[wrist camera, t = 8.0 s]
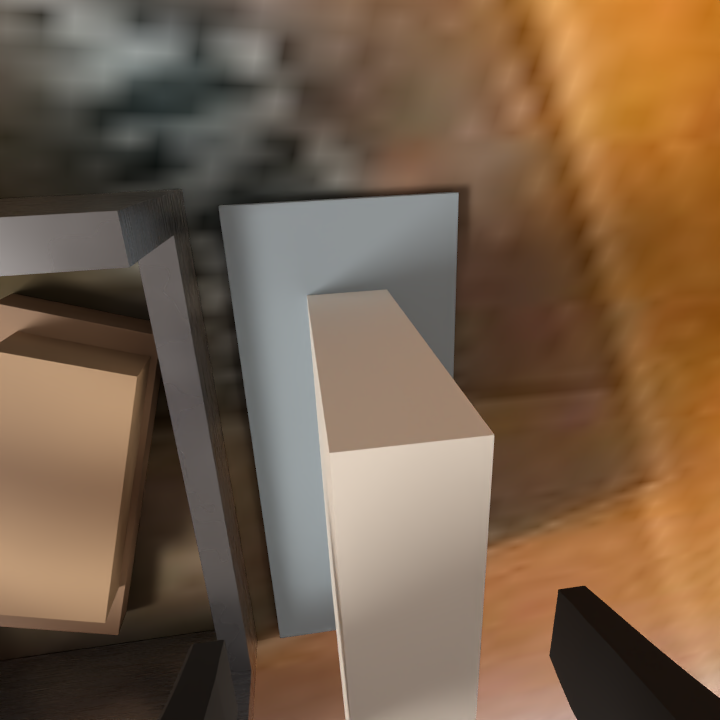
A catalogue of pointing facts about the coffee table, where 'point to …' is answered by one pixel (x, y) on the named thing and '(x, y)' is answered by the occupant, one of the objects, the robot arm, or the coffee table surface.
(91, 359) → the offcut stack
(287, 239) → the mat
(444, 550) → the cream rectangular slab
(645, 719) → the robot arm
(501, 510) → the coffee table surface
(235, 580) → the rack
